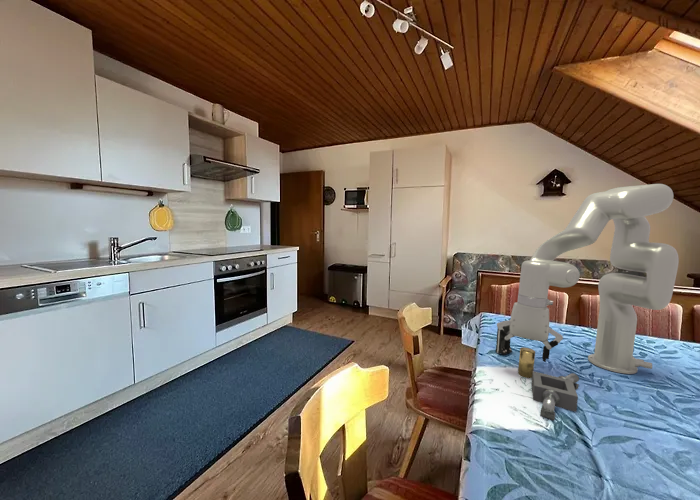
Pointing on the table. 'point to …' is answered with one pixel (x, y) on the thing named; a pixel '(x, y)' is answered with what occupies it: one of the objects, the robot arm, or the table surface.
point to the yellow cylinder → (526, 362)
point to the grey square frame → (558, 385)
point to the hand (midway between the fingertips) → (525, 355)
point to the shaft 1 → (549, 403)
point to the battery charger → (502, 341)
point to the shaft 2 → (573, 378)
